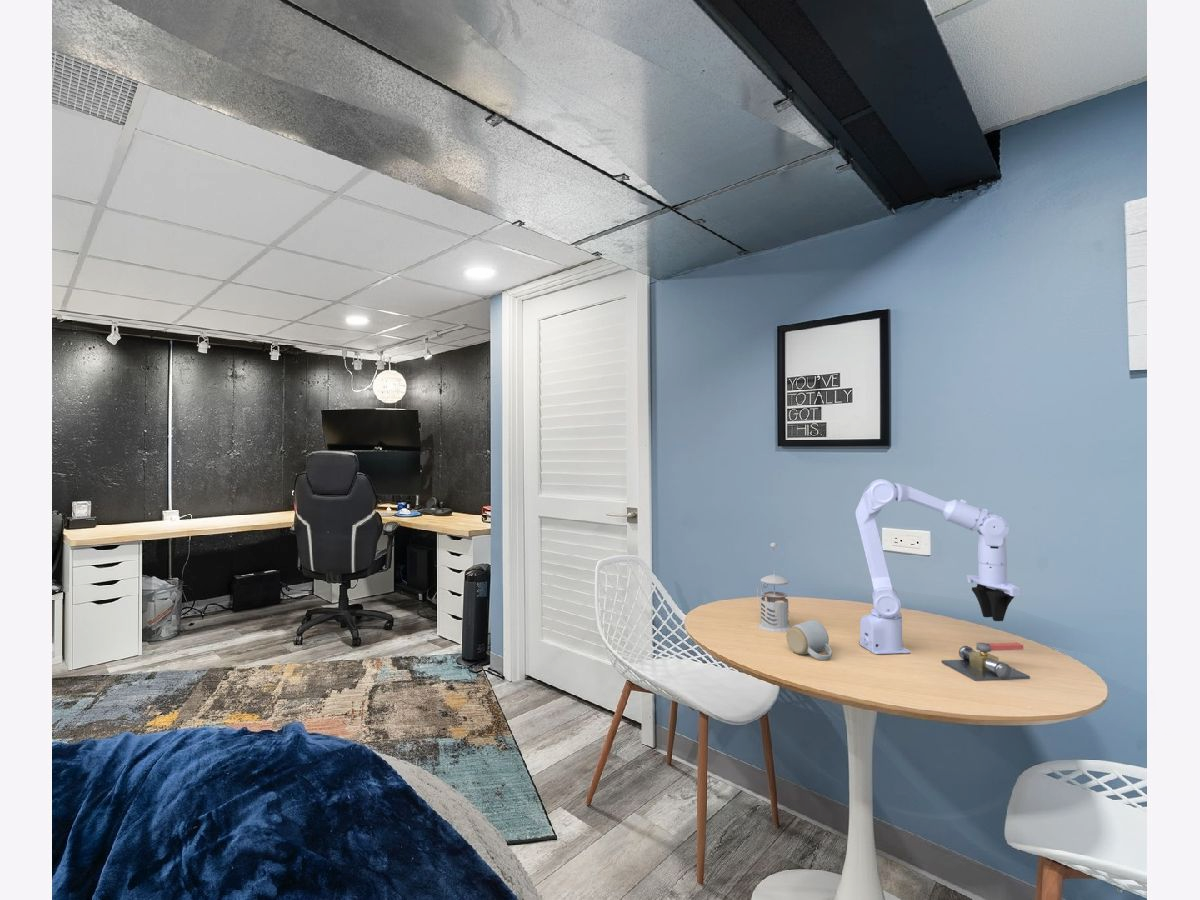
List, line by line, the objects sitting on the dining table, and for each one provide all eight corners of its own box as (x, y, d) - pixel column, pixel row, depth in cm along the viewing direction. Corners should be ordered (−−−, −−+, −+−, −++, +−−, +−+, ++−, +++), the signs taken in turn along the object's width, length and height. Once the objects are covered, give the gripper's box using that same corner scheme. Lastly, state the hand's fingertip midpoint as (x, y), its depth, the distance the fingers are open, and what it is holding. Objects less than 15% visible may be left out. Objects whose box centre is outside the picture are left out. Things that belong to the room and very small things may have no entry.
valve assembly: (1031, 679, 125) (1031, 659, 125) (976, 681, 124) (976, 661, 124) (990, 660, 137) (990, 641, 137) (940, 661, 136) (939, 643, 136)
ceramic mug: (783, 650, 145) (783, 621, 145) (806, 645, 149) (806, 616, 149) (817, 664, 136) (817, 632, 136) (839, 658, 140) (839, 627, 140)
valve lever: (982, 652, 129) (982, 646, 129) (973, 647, 132) (973, 642, 132) (1025, 650, 130) (1025, 645, 130) (1015, 646, 133) (1015, 641, 133)
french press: (772, 633, 159) (771, 545, 159) (746, 623, 169) (745, 540, 170) (799, 629, 163) (798, 543, 163) (772, 618, 173) (771, 538, 174)
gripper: (1032, 568, 130) (1033, 627, 129) (985, 557, 144) (986, 610, 144) (1003, 569, 129) (1004, 628, 129) (959, 558, 144) (959, 611, 143)
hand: (993, 618), depth 136 cm, fingers open, 3 cm apart
